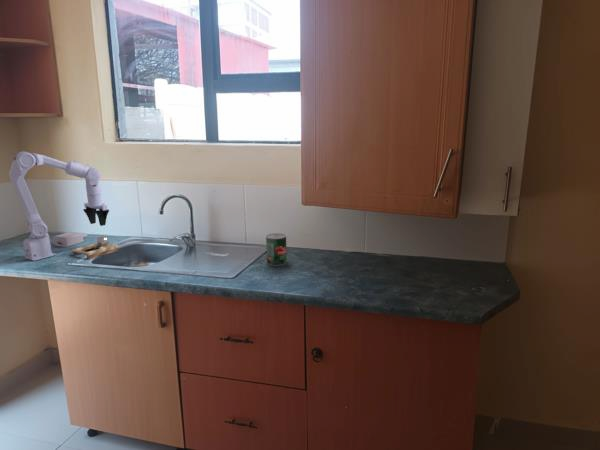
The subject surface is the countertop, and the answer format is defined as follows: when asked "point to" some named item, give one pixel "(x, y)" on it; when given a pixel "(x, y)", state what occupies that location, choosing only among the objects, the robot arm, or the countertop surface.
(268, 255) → the canned tomato
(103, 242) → the peg
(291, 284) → the countertop surface
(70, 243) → the charger
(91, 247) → the keyhole plate
